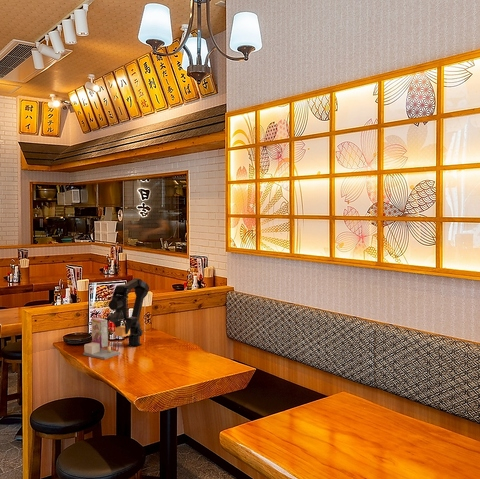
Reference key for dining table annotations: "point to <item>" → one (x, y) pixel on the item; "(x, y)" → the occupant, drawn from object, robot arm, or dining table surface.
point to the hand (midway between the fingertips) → (122, 333)
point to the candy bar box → (100, 331)
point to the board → (99, 351)
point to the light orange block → (121, 331)
